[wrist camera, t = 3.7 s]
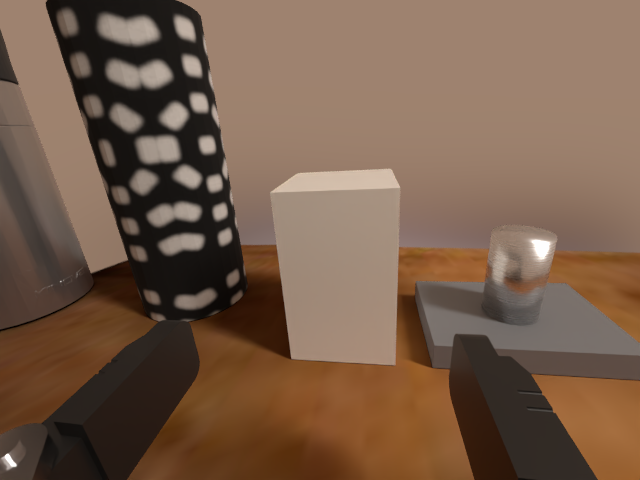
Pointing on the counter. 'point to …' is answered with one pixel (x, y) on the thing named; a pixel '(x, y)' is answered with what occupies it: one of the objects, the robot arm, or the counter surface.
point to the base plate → (530, 346)
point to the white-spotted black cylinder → (156, 148)
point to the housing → (339, 264)
